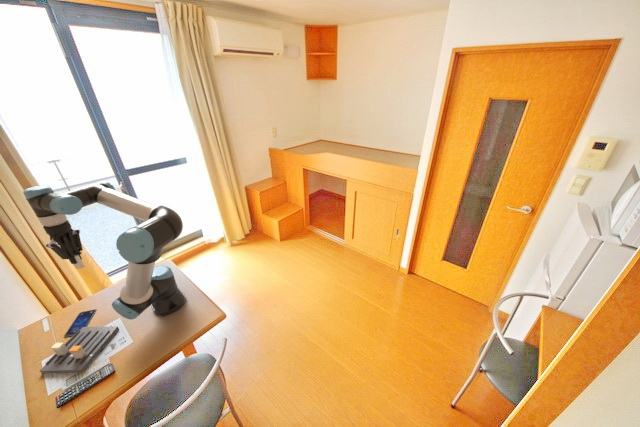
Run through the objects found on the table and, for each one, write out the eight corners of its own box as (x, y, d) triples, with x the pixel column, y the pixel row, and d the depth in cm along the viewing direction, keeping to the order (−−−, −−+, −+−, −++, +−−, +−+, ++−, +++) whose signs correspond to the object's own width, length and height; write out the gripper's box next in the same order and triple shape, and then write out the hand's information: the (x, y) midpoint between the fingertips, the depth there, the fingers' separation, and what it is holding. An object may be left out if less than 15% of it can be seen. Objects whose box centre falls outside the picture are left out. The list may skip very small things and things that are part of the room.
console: (118, 329, 114) (116, 325, 113) (82, 372, 96) (79, 369, 95) (84, 329, 113) (82, 326, 112) (41, 373, 95) (38, 369, 94)
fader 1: (69, 350, 102) (63, 342, 99) (64, 355, 100) (58, 347, 98) (61, 350, 102) (55, 342, 99) (56, 355, 100) (50, 347, 97)
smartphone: (97, 308, 124) (82, 332, 111) (97, 309, 124) (83, 334, 112) (79, 312, 122) (62, 337, 109) (80, 313, 122) (63, 338, 110)
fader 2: (86, 353, 101) (81, 345, 98) (82, 358, 99) (76, 350, 96) (79, 353, 101) (73, 345, 98) (74, 358, 99) (68, 350, 96)
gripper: (60, 215, 104) (84, 258, 115) (29, 230, 93) (58, 277, 103) (78, 215, 105) (100, 258, 115) (48, 230, 93) (76, 277, 104)
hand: (80, 267), depth 109 cm, fingers closed
